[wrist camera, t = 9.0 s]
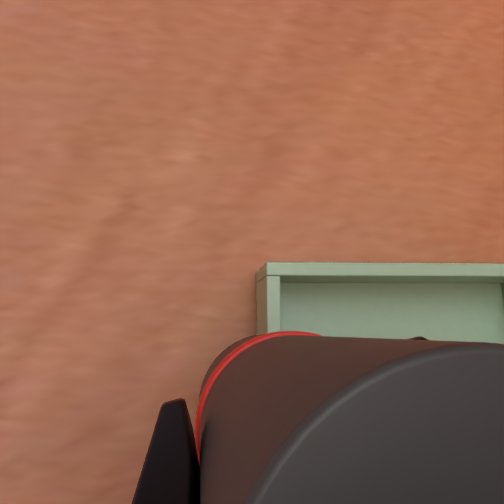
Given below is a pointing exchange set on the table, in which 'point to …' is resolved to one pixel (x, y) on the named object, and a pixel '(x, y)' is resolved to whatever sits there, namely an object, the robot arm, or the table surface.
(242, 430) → the red-banded dark cylinder
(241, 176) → the table surface
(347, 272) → the box
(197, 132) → the table surface
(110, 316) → the table surface
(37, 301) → the table surface
